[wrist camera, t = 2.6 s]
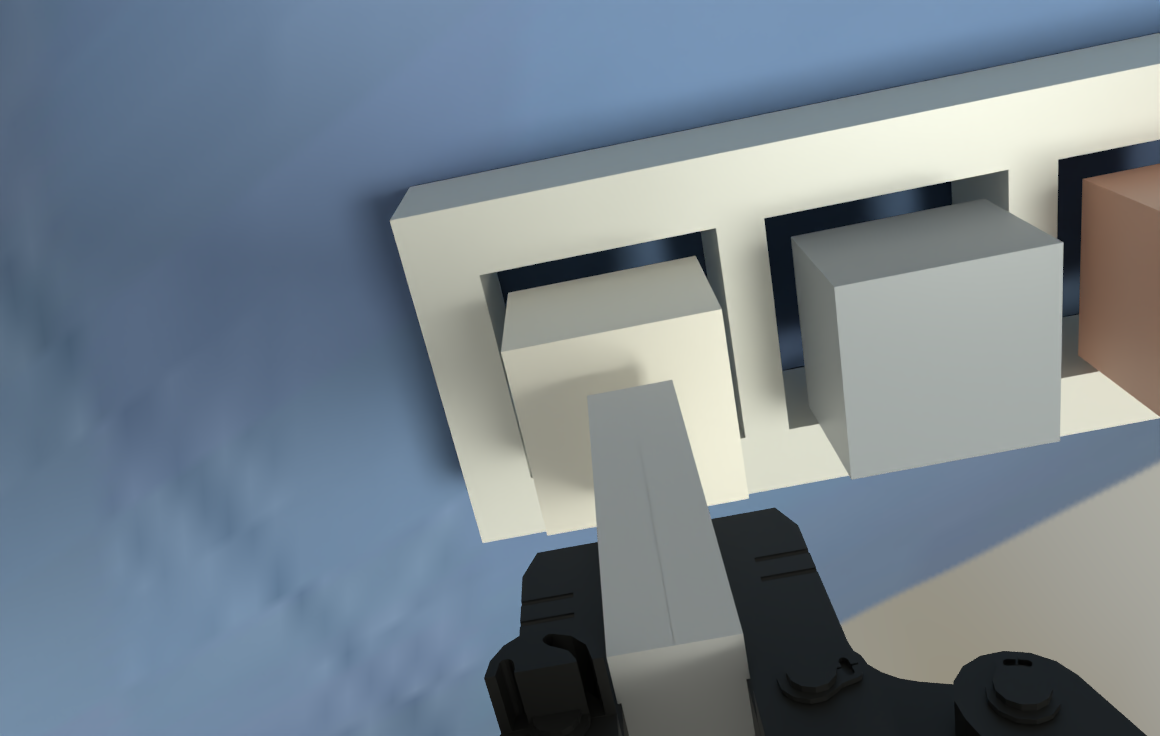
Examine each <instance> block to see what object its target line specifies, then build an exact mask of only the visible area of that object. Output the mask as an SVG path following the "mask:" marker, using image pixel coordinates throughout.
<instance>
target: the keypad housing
mask: <svg viewBox="0 0 1160 736" xmlns="http://www.w3.org/2000/svg"><path fill="white" fill-rule="evenodd" d="M1159 139H1160V33H1157V34H1152V35H1147V36H1142V37H1137V38H1132V39H1128V40H1123V41H1118V42H1113V43H1108V44H1103V45H1098V46H1094V47H1089V48H1084V49H1079V50H1074V51H1069V52H1064V53H1059V54H1055V55H1050V56H1045V57H1040V58H1035V59H1030V60H1025V61H1021V62H1016V63H1011V64H1006V65H1001V66H996V67H991V68H986V69H982V70H977V71H972V72H967V73H962V74H957V75H952V76H948V77H943V78H938V79H933V80H928V81H923V82H918V83H913V84H909V85H904V86H899V87H894V88H889V89H884V90H879V91H875V92H870V93H865V94H860V95H855V96H850V97H845V98H840V99H836V100H831V101H826V102H821V103H816V104H811V105H806V106H802V107H797V108H792V109H787V110H782V111H777V112H772V113H767V114H763V115H758V116H753V117H748V118H743V119H738V120H733V121H729V122H724V123H719V124H714V125H709V126H704V127H699V128H694V129H690V130H685V131H680V132H675V133H670V134H665V135H660V136H656V137H651V138H646V139H641V140H636V141H631V142H626V143H622V144H617V145H612V146H607V147H602V148H597V149H592V150H587V151H583V152H578V153H573V154H568V155H563V156H558V157H553V158H549V159H544V160H539V161H534V162H529V163H524V164H519V165H514V166H510V167H505V168H500V169H495V170H490V171H485V172H480V173H476V174H471V175H466V176H461V177H456V178H451V179H446V180H441V181H437V182H432V183H427V184H422V185H417V186H412V187H410V188H409V189H408V191H407V193H406V194H405V196H404V198H403V199H402V201H401V203H400V204H399V206H398V208H397V209H396V211H395V213H394V214H393V216H392V218H391V219H390V223H391V227H392V230H393V234H394V237H395V241H396V244H397V248H398V251H399V255H400V258H401V261H402V265H403V268H404V272H405V275H406V279H407V282H408V286H409V289H410V293H411V296H412V300H413V303H414V306H415V310H416V313H417V317H418V320H419V324H420V327H421V331H422V334H423V338H424V341H425V345H426V348H427V351H428V355H429V358H430V362H431V365H432V369H433V372H434V376H435V379H436V383H437V386H438V390H439V393H440V397H441V400H442V403H443V407H444V410H445V414H446V417H447V421H448V424H449V428H450V431H451V435H452V438H453V442H454V445H455V448H456V452H457V455H458V459H459V462H460V466H461V469H462V473H463V476H464V480H465V483H466V487H467V490H468V493H469V497H470V500H471V504H472V507H473V511H474V514H475V518H476V521H477V525H478V528H479V532H480V535H481V538H482V542H483V543H486V542H491V541H496V540H502V539H507V538H513V537H518V536H523V535H529V534H534V533H540V532H545V531H546V528H545V524H544V520H543V516H542V512H541V508H540V504H539V500H538V496H537V492H536V488H535V484H534V480H533V476H532V472H531V468H530V465H529V461H528V457H527V453H526V449H525V445H524V441H523V437H522V433H521V429H520V425H519V421H518V417H517V413H516V409H515V405H514V401H513V397H512V393H511V390H510V386H509V382H508V378H507V374H506V370H505V366H504V362H503V358H502V354H501V348H502V340H503V332H504V323H505V315H506V307H505V303H504V299H503V295H502V291H501V287H500V283H499V279H498V275H497V272H498V271H503V270H508V269H513V268H518V267H523V266H528V265H533V264H538V263H543V262H548V261H553V260H558V259H563V258H568V257H573V256H578V255H584V254H589V253H594V252H599V251H604V250H609V249H614V248H619V247H624V246H629V245H634V244H639V243H644V242H649V241H654V240H659V239H664V238H669V237H674V236H679V235H684V234H689V233H694V232H699V231H701V237H702V244H703V251H704V258H705V264H706V271H707V278H708V282H709V284H710V286H711V288H712V290H713V292H714V294H715V296H716V298H717V300H718V302H719V304H720V306H721V308H722V314H723V321H724V328H725V335H726V342H727V349H728V356H729V363H730V370H731V377H732V383H733V390H734V397H735V404H736V411H737V418H738V425H739V432H740V439H741V446H742V453H743V460H744V467H745V474H746V481H747V488H748V494H751V493H756V492H762V491H767V490H773V489H778V488H783V487H789V486H794V485H800V484H805V483H811V482H816V481H821V480H827V479H832V478H838V477H843V476H848V475H849V474H848V473H847V471H846V469H845V467H844V466H843V464H842V462H841V461H840V459H839V457H838V455H837V454H836V452H835V450H834V448H833V447H832V445H831V443H830V442H829V440H828V438H827V436H826V435H825V433H824V431H823V429H822V428H821V426H820V424H819V423H818V421H817V419H816V417H815V416H814V414H813V412H812V410H811V409H810V407H809V402H808V392H807V383H806V374H805V367H801V368H796V369H790V370H785V371H782V365H781V356H780V348H779V339H778V331H777V322H776V314H775V306H774V297H773V289H772V280H771V272H770V263H769V255H768V246H767V238H766V230H765V221H764V218H769V217H774V216H779V215H784V214H789V213H794V212H799V211H804V210H809V209H814V208H819V207H824V206H829V205H834V204H839V203H844V202H849V201H854V200H859V199H864V198H869V197H874V196H879V195H884V194H889V193H894V192H899V191H904V190H909V189H914V188H919V187H924V186H929V185H934V184H939V183H944V182H949V181H951V186H952V205H953V204H959V203H964V202H969V201H974V200H979V199H984V198H985V199H986V200H988V201H990V202H992V203H994V204H995V205H997V206H999V207H1001V208H1002V209H1004V210H1006V211H1008V212H1010V213H1011V214H1013V215H1015V216H1017V217H1019V218H1020V219H1022V220H1024V221H1026V222H1028V223H1029V224H1031V225H1033V226H1035V227H1037V228H1038V229H1040V230H1042V231H1044V232H1046V233H1047V234H1049V235H1051V236H1053V237H1055V238H1056V239H1057V214H1058V160H1059V159H1064V158H1069V157H1074V156H1079V155H1084V154H1089V153H1094V152H1099V151H1104V150H1109V149H1114V148H1119V147H1124V146H1129V145H1134V144H1139V143H1144V142H1149V141H1154V140H1159ZM1078 340H1079V314H1078V315H1073V316H1068V317H1063V318H1062V353H1061V411H1060V436H1065V435H1070V434H1076V433H1081V432H1087V431H1092V430H1098V429H1103V428H1108V427H1114V426H1119V425H1125V424H1130V423H1135V422H1141V421H1146V420H1152V419H1157V418H1160V417H1159V416H1158V415H1157V414H1155V413H1154V412H1153V411H1151V410H1150V409H1149V408H1147V407H1146V406H1145V405H1143V404H1142V403H1141V402H1139V401H1138V400H1137V399H1135V398H1134V397H1133V396H1131V395H1130V394H1129V393H1127V392H1126V391H1125V390H1124V389H1122V388H1121V387H1120V386H1118V385H1117V384H1116V383H1114V382H1113V381H1112V380H1110V379H1109V378H1108V377H1106V376H1105V375H1104V374H1102V373H1101V372H1100V371H1098V370H1097V369H1096V368H1094V367H1093V366H1092V365H1090V364H1089V363H1088V362H1086V361H1085V360H1084V359H1082V358H1081V357H1080V356H1078Z"/></svg>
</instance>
